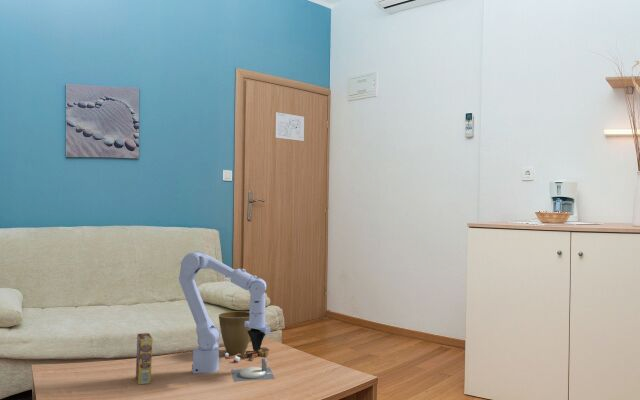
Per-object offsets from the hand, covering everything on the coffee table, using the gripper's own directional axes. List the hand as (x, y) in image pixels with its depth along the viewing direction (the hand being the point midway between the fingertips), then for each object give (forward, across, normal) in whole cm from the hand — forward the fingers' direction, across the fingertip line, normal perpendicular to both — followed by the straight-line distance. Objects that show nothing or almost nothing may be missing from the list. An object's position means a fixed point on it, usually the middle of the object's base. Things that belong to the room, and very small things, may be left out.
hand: (256, 350), depth 183 cm
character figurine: (+9, +16, -7) cm, 20 cm away
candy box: (+9, +17, +35) cm, 40 cm away
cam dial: (+7, -3, +4) cm, 9 cm away
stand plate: (+8, -3, +3) cm, 9 cm away
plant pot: (+9, +28, -8) cm, 30 cm away
